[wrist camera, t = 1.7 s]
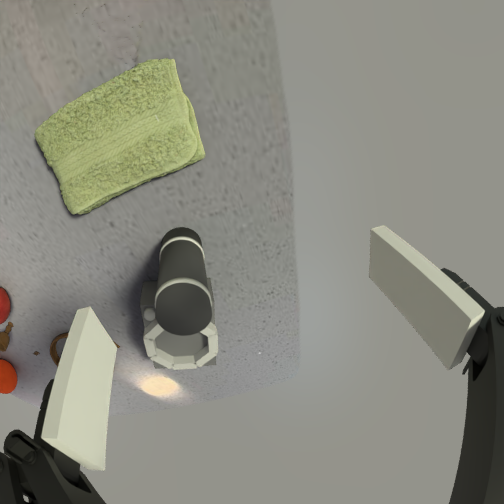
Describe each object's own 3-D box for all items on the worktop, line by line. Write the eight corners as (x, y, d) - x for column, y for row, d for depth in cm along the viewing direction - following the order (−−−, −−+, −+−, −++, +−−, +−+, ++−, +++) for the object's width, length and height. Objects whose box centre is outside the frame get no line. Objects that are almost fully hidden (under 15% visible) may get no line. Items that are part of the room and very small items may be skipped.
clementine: (-15, 349, 36) (-26, 374, 30) (4, 346, 37) (-8, 374, 31) (7, 375, 40) (-2, 400, 34) (26, 374, 41) (18, 401, 35)
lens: (162, 264, 36) (158, 337, 25) (159, 227, 34) (150, 292, 23) (202, 262, 37) (213, 334, 26) (202, 225, 35) (212, 289, 24)
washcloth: (210, 155, 31) (213, 161, 29) (79, 215, 31) (70, 226, 28) (172, 51, 25) (170, 46, 22) (36, 123, 24) (24, 126, 21)
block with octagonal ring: (213, 340, 44) (218, 371, 39) (154, 344, 42) (153, 375, 37) (211, 278, 39) (217, 308, 33) (141, 281, 37) (136, 313, 31)
